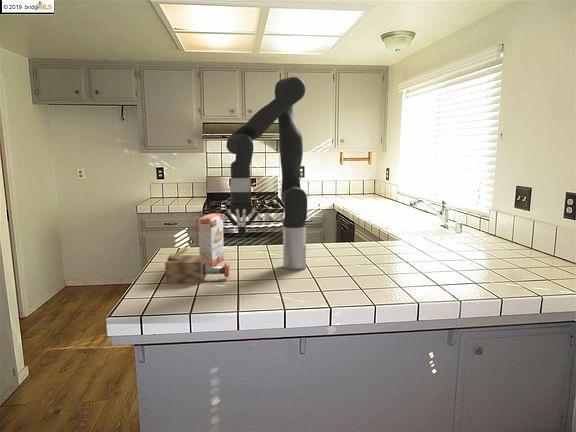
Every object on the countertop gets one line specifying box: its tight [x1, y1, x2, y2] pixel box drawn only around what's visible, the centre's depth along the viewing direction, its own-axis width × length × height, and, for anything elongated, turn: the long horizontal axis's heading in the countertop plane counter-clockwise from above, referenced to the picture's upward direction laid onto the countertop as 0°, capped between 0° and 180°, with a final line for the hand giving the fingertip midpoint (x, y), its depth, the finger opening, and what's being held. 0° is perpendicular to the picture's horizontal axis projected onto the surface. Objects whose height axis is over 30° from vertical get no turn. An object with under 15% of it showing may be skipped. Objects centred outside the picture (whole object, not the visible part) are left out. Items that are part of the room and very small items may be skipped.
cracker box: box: [197, 212, 225, 267], centre depth 173 cm, size 14×6×21 cm, turn 168°
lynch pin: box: [203, 262, 230, 278], centre depth 154 cm, size 15×5×5 cm, turn 90°
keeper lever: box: [167, 247, 188, 260], centre depth 153 cm, size 7×4×1 cm, turn 90°
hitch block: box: [164, 254, 208, 285], centre depth 154 cm, size 13×10×8 cm
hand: (242, 236), depth 152 cm, fingers closed
